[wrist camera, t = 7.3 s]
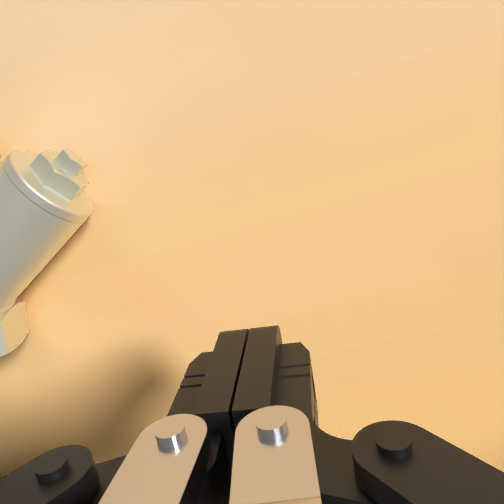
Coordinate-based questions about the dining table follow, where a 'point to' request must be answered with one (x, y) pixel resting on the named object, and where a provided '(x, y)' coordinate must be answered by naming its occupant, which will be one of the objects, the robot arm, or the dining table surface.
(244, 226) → the dining table surface
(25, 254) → the pipe fitting
